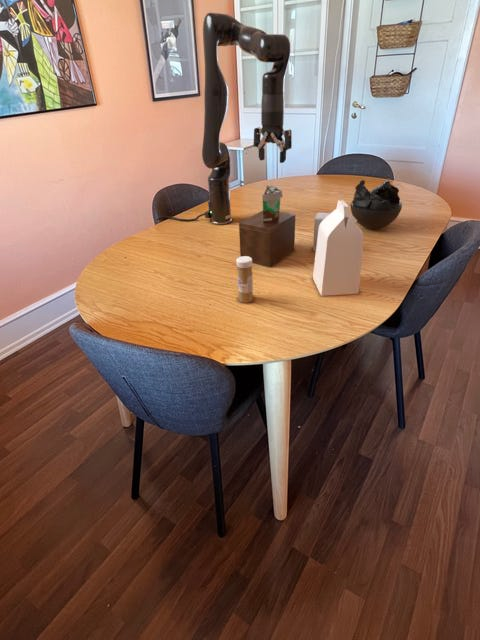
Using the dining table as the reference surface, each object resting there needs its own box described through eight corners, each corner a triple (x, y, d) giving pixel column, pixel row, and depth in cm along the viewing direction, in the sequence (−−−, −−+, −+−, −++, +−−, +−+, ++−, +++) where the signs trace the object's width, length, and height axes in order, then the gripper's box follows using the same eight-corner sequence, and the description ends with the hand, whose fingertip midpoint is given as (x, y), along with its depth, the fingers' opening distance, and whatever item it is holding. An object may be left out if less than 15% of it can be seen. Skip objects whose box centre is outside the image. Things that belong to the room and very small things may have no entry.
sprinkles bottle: (235, 300, 116) (233, 259, 109) (245, 294, 119) (243, 254, 111) (247, 304, 114) (245, 263, 106) (256, 298, 116) (255, 257, 109)
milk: (312, 277, 126) (318, 198, 111) (347, 275, 126) (356, 196, 112) (321, 295, 116) (328, 211, 101) (358, 293, 116) (370, 208, 102)
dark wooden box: (240, 259, 140) (238, 222, 133) (265, 243, 152) (265, 209, 144) (270, 267, 134) (270, 229, 126) (294, 250, 145) (295, 214, 137)
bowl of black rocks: (408, 228, 158) (417, 181, 148) (374, 240, 150) (382, 191, 139) (370, 216, 173) (376, 173, 162) (338, 226, 164) (342, 181, 154)
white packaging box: (334, 245, 147) (337, 213, 140) (332, 252, 142) (335, 219, 135) (315, 243, 150) (317, 211, 143) (312, 251, 144) (314, 218, 137)
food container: (280, 225, 129) (281, 195, 123) (262, 224, 130) (262, 195, 124) (283, 213, 139) (284, 185, 133) (266, 213, 140) (266, 185, 134)
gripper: (297, 109, 125) (294, 161, 134) (261, 107, 132) (261, 157, 141) (285, 111, 120) (283, 165, 129) (248, 109, 127) (249, 161, 137)
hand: (271, 161), depth 135 cm, fingers open, 8 cm apart
